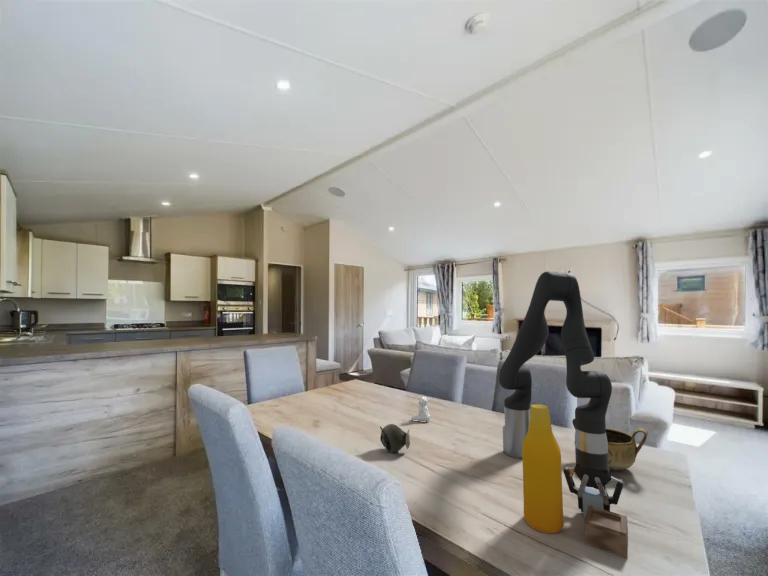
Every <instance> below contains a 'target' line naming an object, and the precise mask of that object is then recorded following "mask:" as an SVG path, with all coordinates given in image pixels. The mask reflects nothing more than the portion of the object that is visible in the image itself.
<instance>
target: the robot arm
mask: <svg viewBox="0 0 768 576" xmlns="http://www.w3.org/2000/svg"><path fill="white" fill-rule="evenodd" d="M550 301H554V302H556V301H557V302H562V303H563V304H564V306H565V309H566V314H565V319H564V322H563V324H562V327H561V331H560V341H561V344H562V345H561V346H562V348H563V351H564V354H565V355H564V356H565V360H566V361H565V362H566V363H565V364H566V365H565V366H566V374H565V375H566V377H565V383H566V388H567V390H568V392H569V393H570V394H571V396H573V397H575V398H578V399H589V401H588V402H587V403H585V404H581V405H579V406H576V407H575V409H574V418H575V427H576V428H574V430H575V432H574V446H575V447H574V449H575V451H574V452H575V465H574V467H569V466H567V465H566V466H565V467H564V468H563V471H562V472H563V474H564V478H565V480H566V484H567V487H568V490H569V492H570V493H571V494H574V495H576V496H577V507H578V509H579V510H580V512H581V513H583V496H582V493H583V492H584V490H585V487H587V488H592V489H595V490H599V492H600V495H601V496H602V497H603V502H604V503H603V508H604V510H607V511H610V512H611V505H615V506H616V505H618V503H619V501H620V497H621V494H622V492H623V491H622V490H623V488H624V479H622V478H616V477H614V476H612V474H611V472H610V470H609V462H608V442H607V436H606V428H607V427H606V425H607V424H606V415H607V411H608V407H609V403H610V400H611V397H612V391H613V386H612V381H611V379H610V377H609V376H608V374H606V373H605V372H603V371H599V370H598V371H597V370H592V371H591V370H590V371H589V370H582V366H585V365H589V364H591V363H593V362H594V360H595V354H594V351H593V348H592V345H591V342H590V339H589V337H588V336H589V335H588V333H587V330H586V329H587V328H586V326H585V319H584V311H583V304H582V298H581V291H580V285H579V282H578V280H577V277H576V276H575V275H574V274H572V273H570V272H561V271H544V272H541V274H540V275H539V276H538V279H537V281H536V283H535V286H534V290H533V293H532V296H531V299H530V303H529V306H528V309H527V311H526V314H525V317H524V318H523V321H522V323H521V325H520V328H519V330H518V332H517V334H516V337H515V339H514V343H513V345H512V347H511V349H510V351H509V353H508V355H507V357H506V359H505V360H504V361H503V363H502V365H501V367H500V369H499V373H498V382H499V385H500V387H502V389H504V390H509V391H510V390H513V391H514V392H513V393H512V394H511V395H509V396H507V397H506V398H505V399H504V400H503V401H504V402H503V405H504V407H503V409H504V425H503V426H502V447H503V448H502V452H503V453H505V454H507V455H508V456H510V457H513V458H516V459H517V458H518V459H523V458H522V447H523V441H524V439H525V436H526V434H527V432H528V430H529V425H530V413H531V402H532V391H533V390H532V388H533V387H532V386H533V381H532V379H533V377H532V373H531V370H530V369H529V367H528V366H527V365H525V363H526V362H528V361H529V360H531V359H532V358H533V357H535V356H536V355H538V353H540V352H541V350H542V349H543V347H544V346H545V344H546V341H547V340H548V337H549V335H550V334H549V333H550V330H549V325H548V322H547V319H546V315H545V311H546V308H547V305H548V303H549V302H550ZM574 473H575V475H576V476H577V478H578V479H579V481H580V484H579V487H577V486H576V483H575V481H574V478H573V477H574ZM610 482H611V483H612V487H613V488H614V491H613V493H612V496H609V492H608V489H607V487H606V486H607V485H608V484H609V483H610Z"/></svg>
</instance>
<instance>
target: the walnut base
mask: <svg viewBox="0 0 768 576" xmlns="http://www.w3.org/2000/svg"><path fill="white" fill-rule="evenodd" d="M583 521H584V527H583V528H584V544H586V545H588V546H590V547H594V548H597V549H599V550H603V551H606V552H608V553H611V554H614V555H617V556H620V557H623V558H625V559H628V556H629V554H628V551H629V535H628V534H629V530H628V516H627V515H624V514H620V513H617V512H613V511H611V510H610V511H607V510H603V509H600V508H596V507H593V506H589V505H588V507H587V511H586V516H585V518H584V520H583Z"/></svg>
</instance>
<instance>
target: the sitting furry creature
mask: <svg viewBox="0 0 768 576" xmlns="http://www.w3.org/2000/svg"><path fill="white" fill-rule="evenodd" d="M429 401H430V397H426V396H421V397H420V399H419V401H418V405H419V407H418V413H417V415H413V416H411V417H410V420H411V419H412V420H418V421H429V420H430V421H431V414H430V411H429V408H428V406H427V404H428V402H429ZM430 421H429V422H430Z"/></svg>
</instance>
